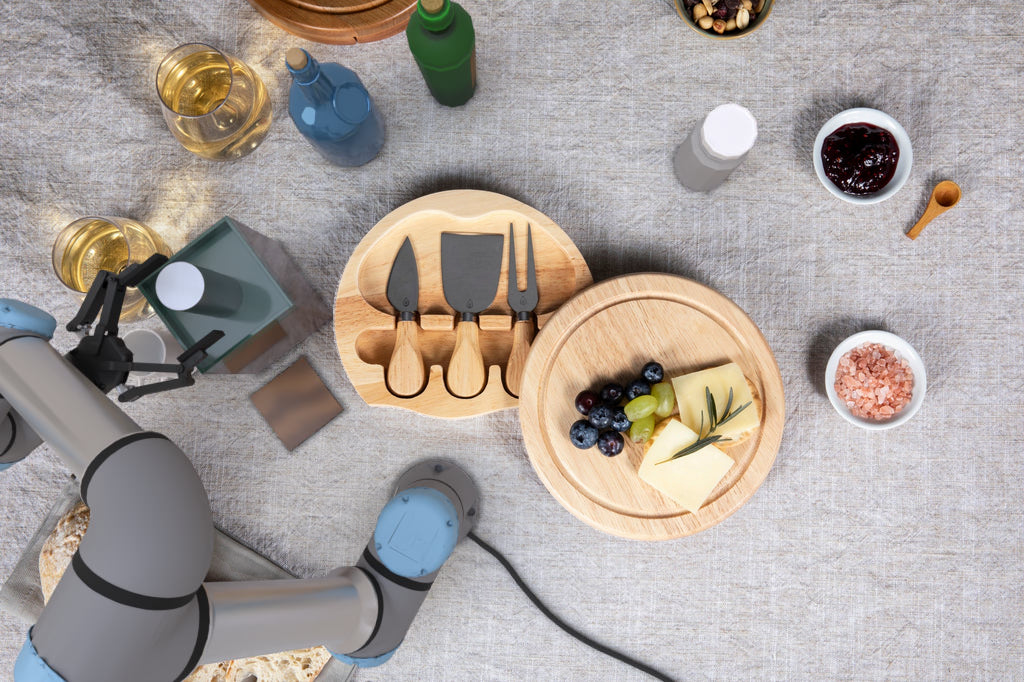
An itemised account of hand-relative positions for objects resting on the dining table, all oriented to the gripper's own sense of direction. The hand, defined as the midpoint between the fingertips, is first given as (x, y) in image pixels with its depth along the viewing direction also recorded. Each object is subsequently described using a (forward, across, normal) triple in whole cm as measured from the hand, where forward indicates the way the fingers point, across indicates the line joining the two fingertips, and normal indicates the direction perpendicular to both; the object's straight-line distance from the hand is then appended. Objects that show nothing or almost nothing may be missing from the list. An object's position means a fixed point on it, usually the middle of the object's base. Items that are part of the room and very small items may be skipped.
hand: (191, 293), depth 93 cm
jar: (+78, +28, -26) cm, 87 cm away
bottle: (+52, -12, -26) cm, 59 cm away
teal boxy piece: (+1, 0, -26) cm, 26 cm away
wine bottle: (+32, -16, -26) cm, 44 cm away
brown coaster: (-5, +17, -26) cm, 31 cm away
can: (+1, 0, -7) cm, 7 cm away
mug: (-18, -2, -26) cm, 32 cm away
